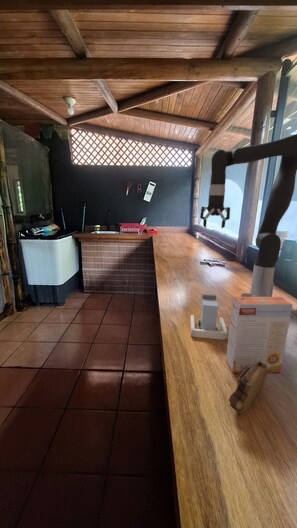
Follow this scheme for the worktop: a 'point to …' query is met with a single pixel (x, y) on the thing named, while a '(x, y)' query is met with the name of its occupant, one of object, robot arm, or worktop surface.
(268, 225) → the robot arm
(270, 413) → the worktop surface
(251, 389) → the wooden carving
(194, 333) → the bay
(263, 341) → the cracker box
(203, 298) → the grey tall block
